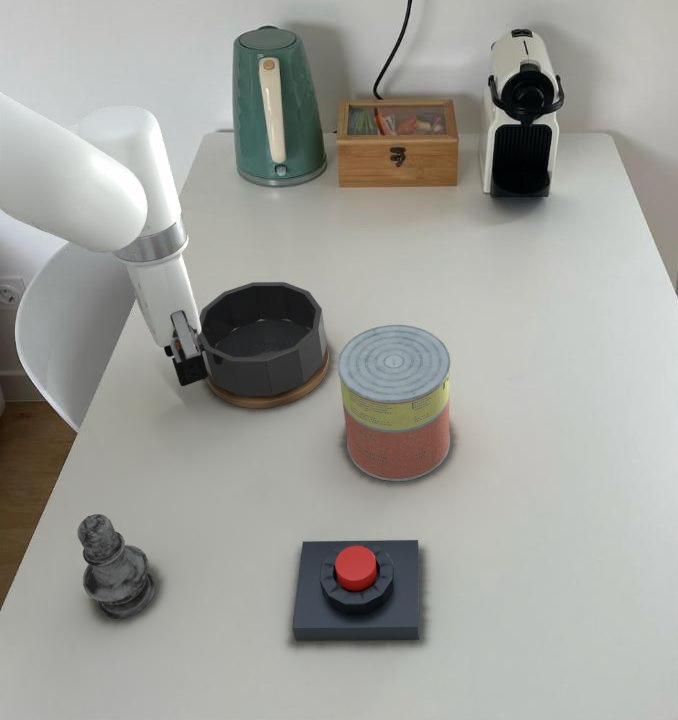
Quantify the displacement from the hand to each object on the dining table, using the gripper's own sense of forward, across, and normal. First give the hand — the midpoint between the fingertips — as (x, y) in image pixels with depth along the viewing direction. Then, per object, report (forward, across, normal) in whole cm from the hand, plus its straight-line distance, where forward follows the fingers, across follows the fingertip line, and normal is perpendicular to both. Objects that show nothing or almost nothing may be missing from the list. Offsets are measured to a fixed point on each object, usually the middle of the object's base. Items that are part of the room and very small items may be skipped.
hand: (186, 364), depth 93 cm
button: (+1, +34, +5) cm, 34 cm away
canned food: (+4, +19, +17) cm, 26 cm away
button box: (+4, +34, +5) cm, 35 cm away
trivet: (+4, 0, +9) cm, 10 cm away
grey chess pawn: (+4, +23, -14) cm, 27 cm away
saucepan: (+3, 0, +8) cm, 8 cm away
